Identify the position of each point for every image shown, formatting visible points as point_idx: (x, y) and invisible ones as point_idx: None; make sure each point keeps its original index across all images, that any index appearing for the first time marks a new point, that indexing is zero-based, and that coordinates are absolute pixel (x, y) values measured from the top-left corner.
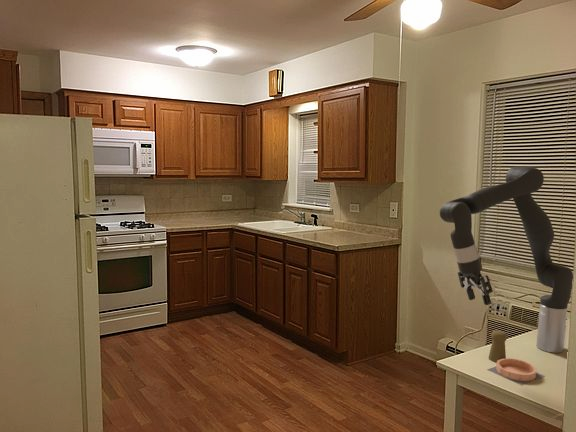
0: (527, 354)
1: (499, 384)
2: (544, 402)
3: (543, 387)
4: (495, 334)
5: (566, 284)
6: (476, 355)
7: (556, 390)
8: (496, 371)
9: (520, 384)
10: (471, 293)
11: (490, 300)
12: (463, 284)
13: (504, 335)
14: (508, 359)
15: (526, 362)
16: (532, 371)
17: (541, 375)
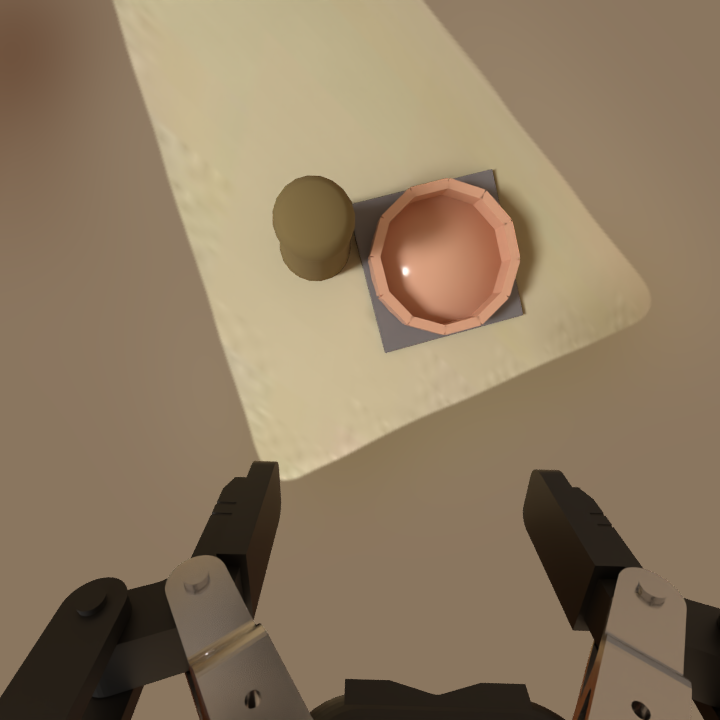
0: (292, 57)
1: (486, 380)
2: (622, 320)
3: (546, 241)
4: (324, 251)
5: None
6: (249, 298)
7: (576, 213)
8: (409, 327)
9: (516, 313)
10: (263, 537)
11: (597, 508)
12: (130, 703)
13: (351, 210)
14: (383, 240)
15: (429, 185)
16: (468, 201)
17: (483, 177)
